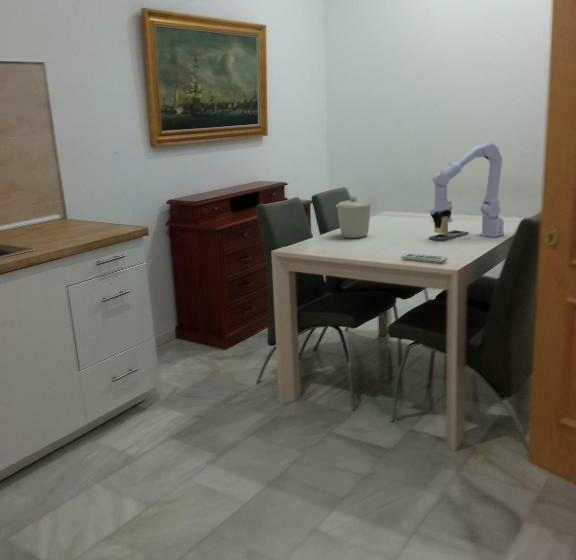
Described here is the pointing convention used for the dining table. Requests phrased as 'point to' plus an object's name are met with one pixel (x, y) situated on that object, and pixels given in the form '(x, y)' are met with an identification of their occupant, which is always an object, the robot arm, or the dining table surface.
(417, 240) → the dining table surface
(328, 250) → the dining table surface
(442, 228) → the block
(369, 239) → the dining table surface
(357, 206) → the canister
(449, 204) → the can
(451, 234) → the grey frame plate
